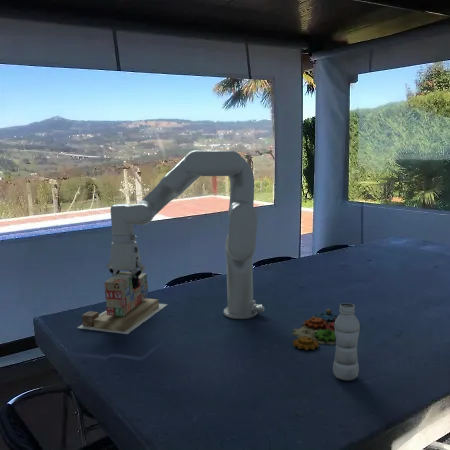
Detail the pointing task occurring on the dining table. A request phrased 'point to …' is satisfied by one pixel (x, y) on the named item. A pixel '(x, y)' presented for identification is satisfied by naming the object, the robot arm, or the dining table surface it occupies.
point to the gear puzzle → (316, 331)
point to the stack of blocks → (124, 293)
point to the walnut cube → (89, 318)
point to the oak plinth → (126, 316)
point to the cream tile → (130, 327)
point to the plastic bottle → (346, 343)
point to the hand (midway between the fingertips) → (126, 286)
